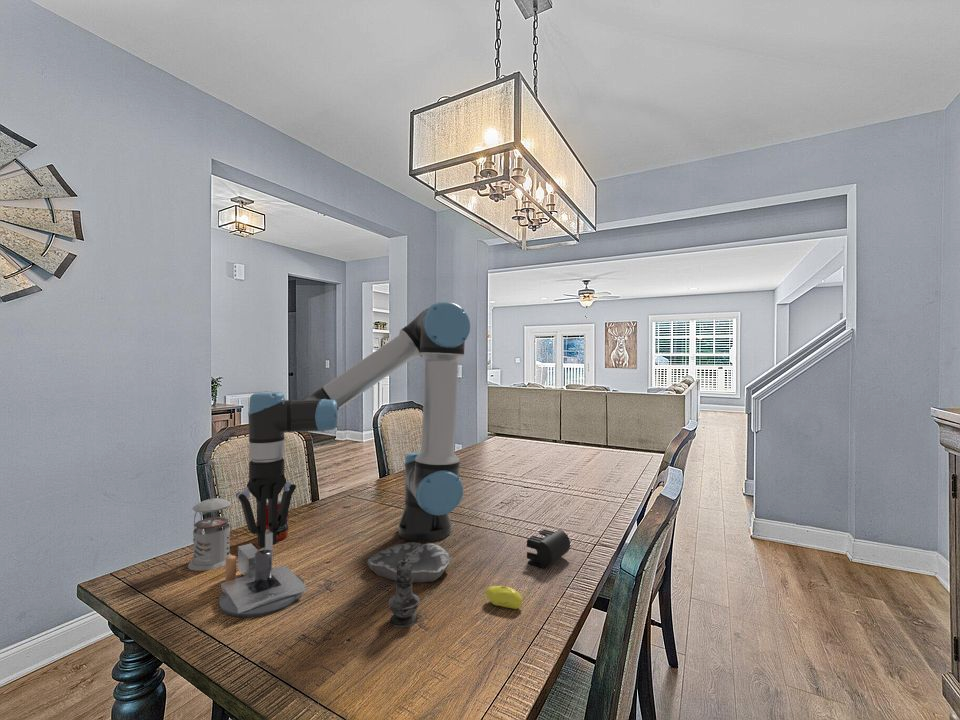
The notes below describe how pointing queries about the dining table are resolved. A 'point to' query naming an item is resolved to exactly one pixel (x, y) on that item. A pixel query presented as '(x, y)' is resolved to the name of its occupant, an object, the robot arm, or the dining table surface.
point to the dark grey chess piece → (404, 597)
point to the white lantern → (210, 534)
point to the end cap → (547, 548)
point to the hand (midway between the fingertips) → (267, 559)
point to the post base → (259, 609)
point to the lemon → (504, 596)
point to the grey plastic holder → (239, 587)
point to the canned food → (283, 530)
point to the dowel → (230, 568)
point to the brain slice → (411, 561)
